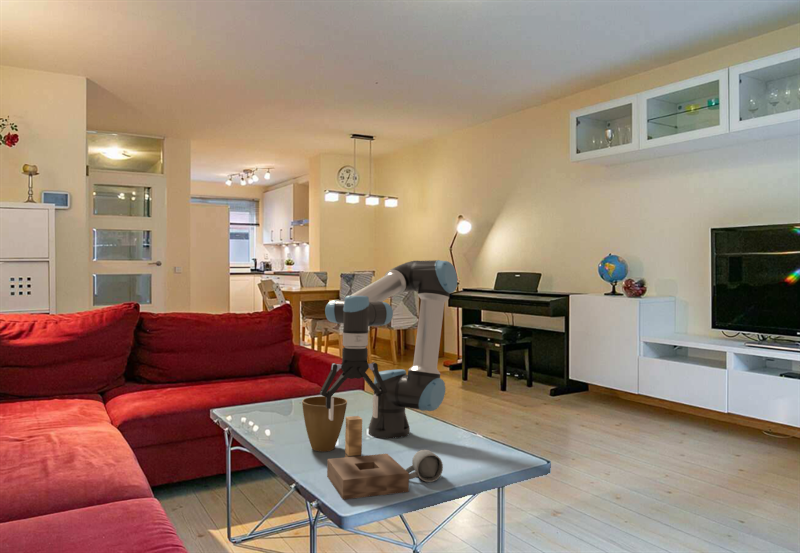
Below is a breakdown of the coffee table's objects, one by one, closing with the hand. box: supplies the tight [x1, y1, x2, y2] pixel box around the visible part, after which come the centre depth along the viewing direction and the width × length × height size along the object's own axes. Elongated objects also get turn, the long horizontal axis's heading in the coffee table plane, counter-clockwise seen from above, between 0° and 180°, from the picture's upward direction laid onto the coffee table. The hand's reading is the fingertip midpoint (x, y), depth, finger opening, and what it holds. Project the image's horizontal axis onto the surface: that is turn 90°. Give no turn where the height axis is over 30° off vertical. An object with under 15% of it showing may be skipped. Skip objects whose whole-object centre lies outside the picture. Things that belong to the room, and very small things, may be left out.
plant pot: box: [301, 395, 348, 452], centre depth 191 cm, size 15×15×16 cm
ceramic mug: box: [404, 449, 444, 483], centre depth 164 cm, size 11×8×8 cm
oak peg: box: [344, 415, 363, 457], centre depth 172 cm, size 4×4×15 cm
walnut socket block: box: [326, 453, 410, 500], centre depth 159 cm, size 18×18×5 cm
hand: (353, 418), depth 171 cm, fingers open, 13 cm apart
